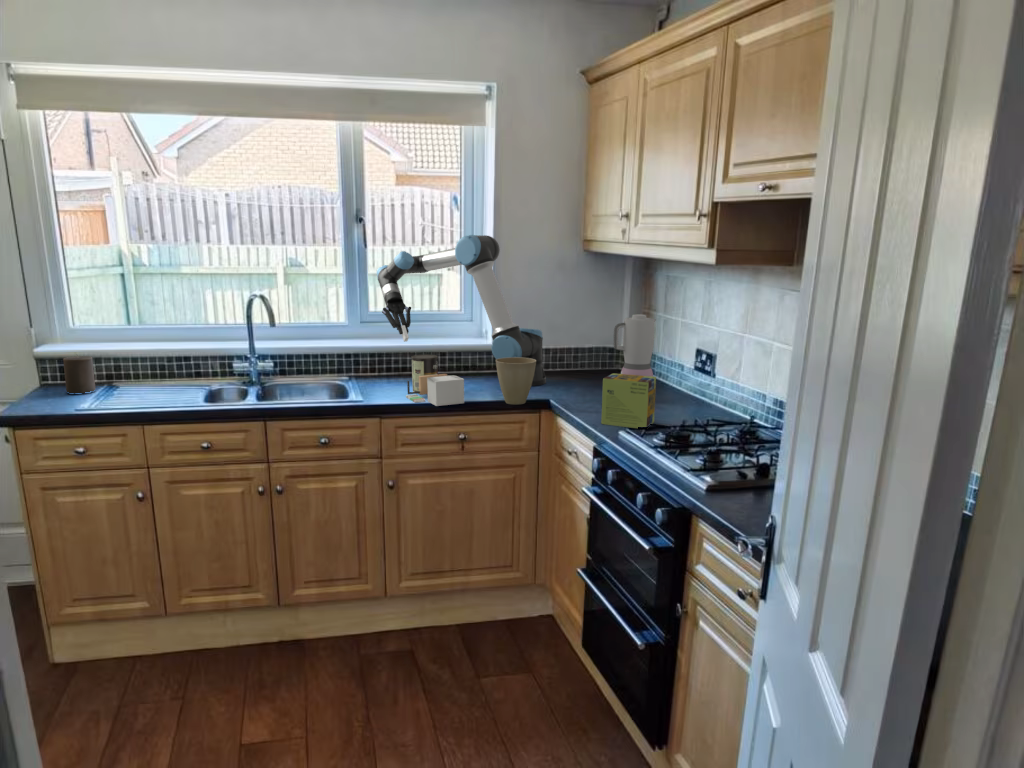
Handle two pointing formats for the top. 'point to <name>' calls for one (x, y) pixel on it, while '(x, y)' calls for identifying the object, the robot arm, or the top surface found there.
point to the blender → (636, 344)
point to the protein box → (628, 400)
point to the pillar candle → (79, 374)
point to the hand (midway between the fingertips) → (406, 339)
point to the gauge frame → (443, 391)
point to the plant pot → (515, 378)
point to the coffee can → (423, 368)
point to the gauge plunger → (423, 384)
